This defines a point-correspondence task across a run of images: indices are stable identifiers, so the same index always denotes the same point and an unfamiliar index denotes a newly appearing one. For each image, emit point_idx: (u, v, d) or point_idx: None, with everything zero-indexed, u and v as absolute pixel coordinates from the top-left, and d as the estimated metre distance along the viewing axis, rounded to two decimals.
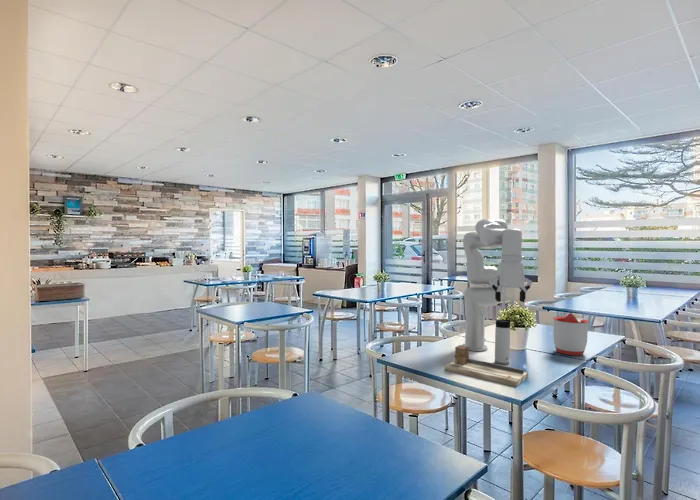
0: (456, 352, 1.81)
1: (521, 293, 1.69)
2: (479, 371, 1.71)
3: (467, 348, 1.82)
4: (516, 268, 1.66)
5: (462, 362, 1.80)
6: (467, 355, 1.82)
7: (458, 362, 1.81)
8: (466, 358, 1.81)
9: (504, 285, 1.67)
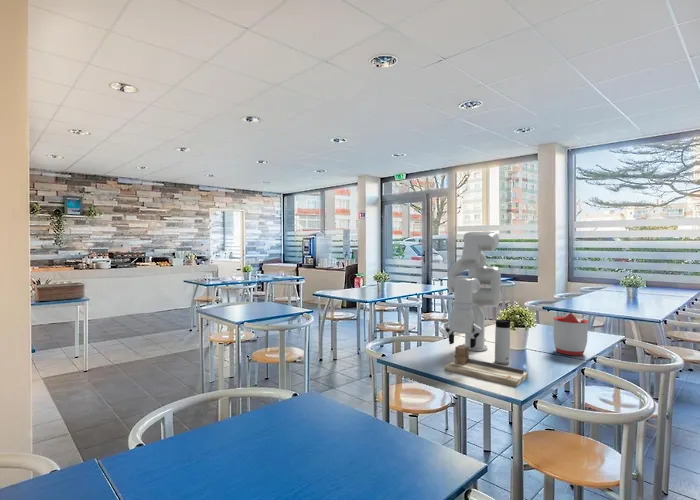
0: (456, 352, 1.81)
1: (452, 336, 1.85)
2: (479, 371, 1.71)
3: (467, 348, 1.82)
4: None
5: (462, 362, 1.80)
6: (467, 355, 1.82)
7: (458, 362, 1.81)
8: (466, 358, 1.81)
9: None
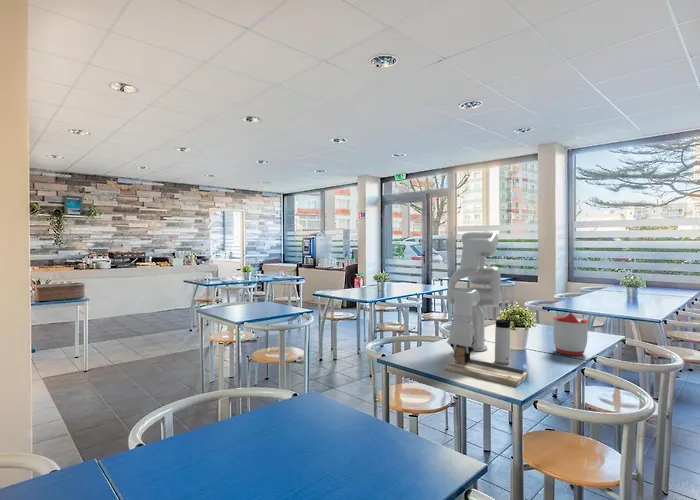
0: (456, 352, 1.81)
1: None
2: (479, 371, 1.71)
3: None
4: None
5: (462, 362, 1.80)
6: None
7: (458, 362, 1.81)
8: None
9: None
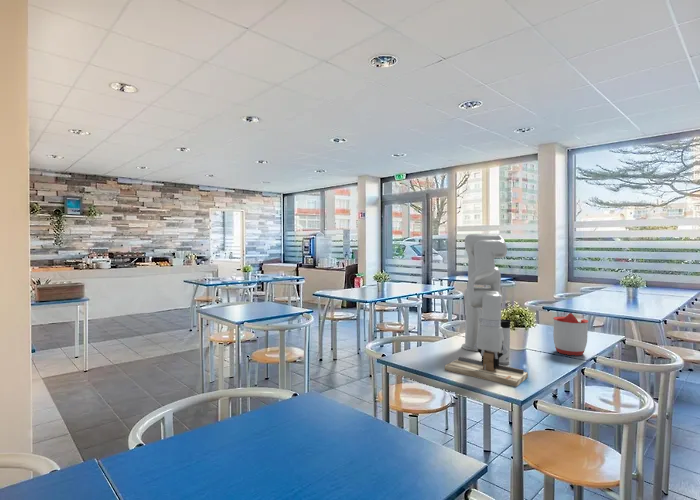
0: (484, 358, 1.73)
1: None
2: (479, 371, 1.71)
3: None
4: None
5: (491, 368, 1.72)
6: None
7: (486, 368, 1.73)
8: None
9: None
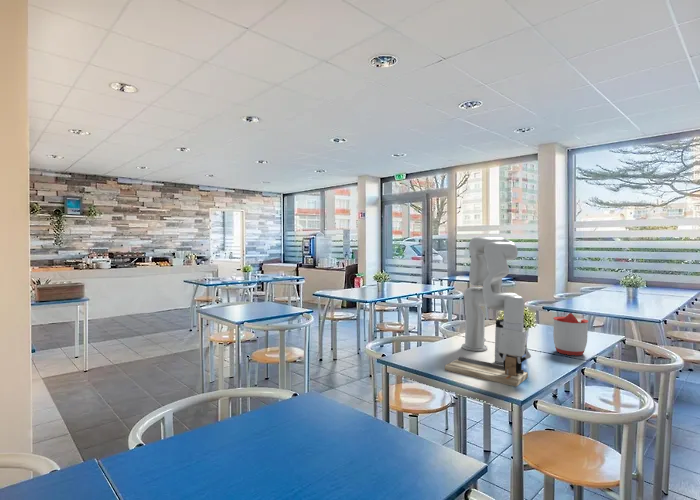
0: (506, 362, 1.68)
1: None
2: (479, 371, 1.71)
3: None
4: None
5: (513, 373, 1.66)
6: None
7: (509, 373, 1.67)
8: None
9: None
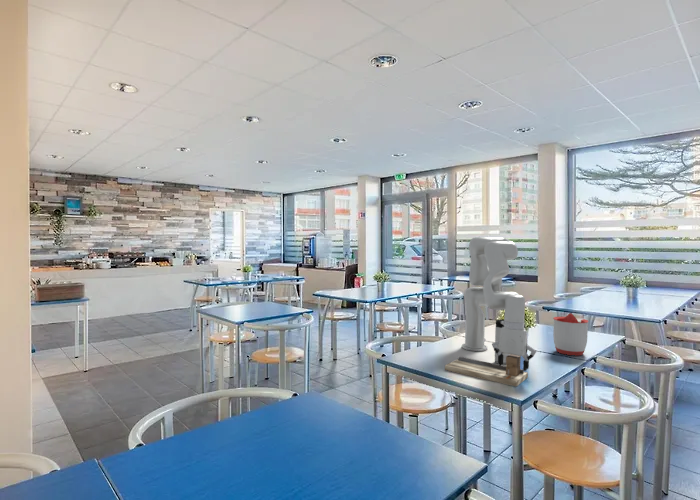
0: (507, 362, 1.67)
1: (502, 356, 1.71)
2: (479, 371, 1.71)
3: (519, 358, 1.68)
4: None
5: (514, 373, 1.66)
6: (519, 365, 1.68)
7: (509, 373, 1.67)
8: (518, 369, 1.67)
9: None
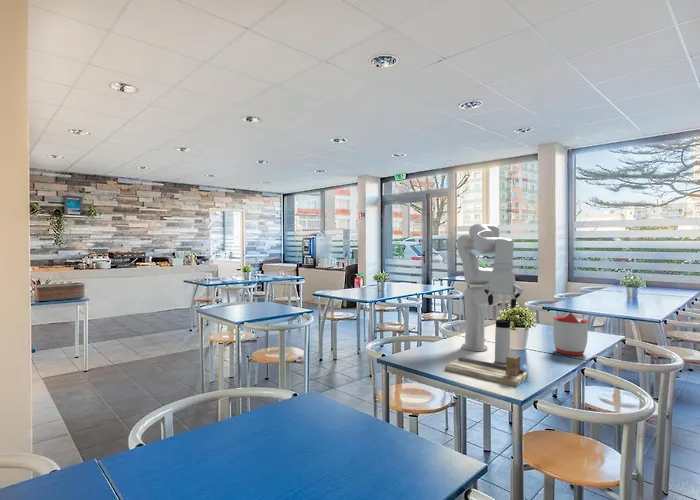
0: (507, 362, 1.67)
1: (492, 297, 1.84)
2: (479, 371, 1.71)
3: (519, 358, 1.68)
4: None
5: (514, 373, 1.66)
6: (519, 365, 1.68)
7: (509, 373, 1.67)
8: (518, 369, 1.67)
9: None
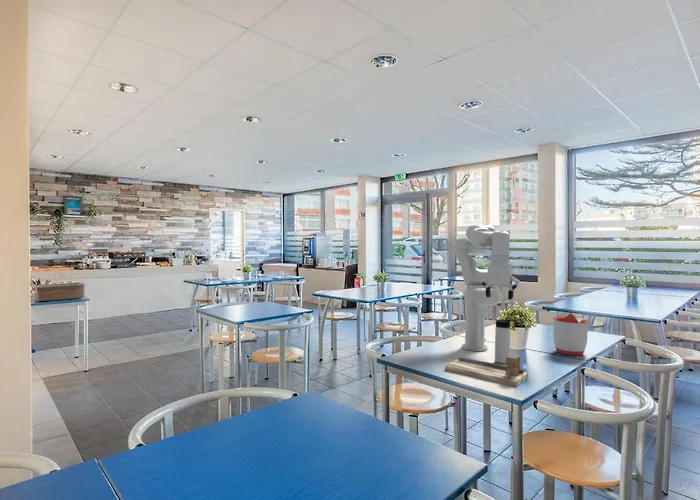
0: (507, 362, 1.67)
1: (489, 289, 1.88)
2: (479, 371, 1.71)
3: (519, 358, 1.68)
4: None
5: (514, 373, 1.66)
6: (519, 365, 1.68)
7: (509, 373, 1.67)
8: (518, 369, 1.67)
9: None
